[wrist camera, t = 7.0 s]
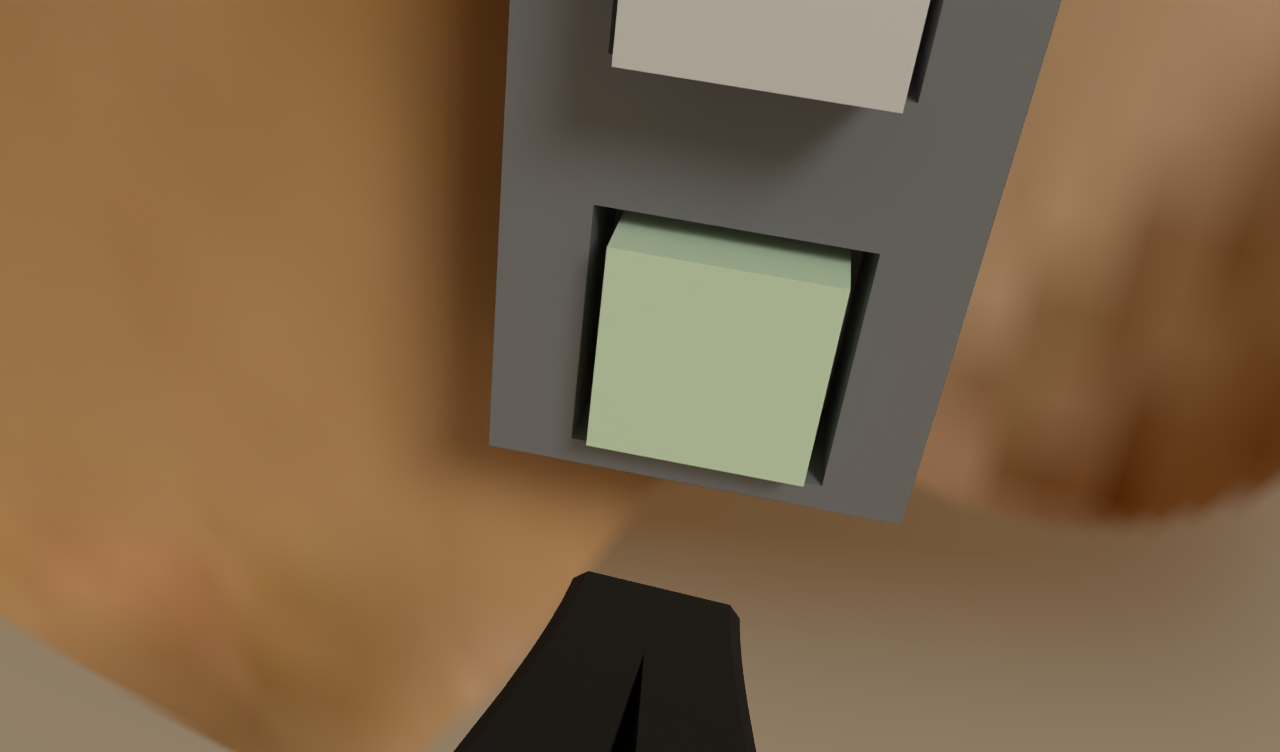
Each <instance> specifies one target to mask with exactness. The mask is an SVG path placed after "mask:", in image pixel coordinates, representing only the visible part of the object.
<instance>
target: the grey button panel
mask: <svg viewBox="0 0 1280 752" xmlns="http://www.w3.org/2000/svg"><path fill="white" fill-rule="evenodd" d="M1060 3H1061V0H930V4H929V8H928V12H927V16H926V20H925V24H924V28H923V32H922V36H921V40H920V45H919V49H918V53H917V57H916V61H915V65H914V69H913V73H912V77H911V81H910V86H909V90H908V94H907V98H906V102H905V106H904V110H903V114H902V113H896V112H890V111H884V110H877V109H871V108H865V107H859V106H853V105H846V104H840V103H834V102H828V101H822V100H815V99H809V98H803V97H797V96H791V95H784V94H778V93H772V92H766V91H759V90H753V89H747V88H741V87H735V86H728V85H722V84H716V83H710V82H704V81H697V80H691V79H685V78H679V77H673V76H666V75H660V74H654V73H648V72H642V71H635V70H629V69H623V68H617V67H612V57H613V47H614V36H615V26H616V16H617V6H618V0H510V5H509V26H508V48H507V69H506V90H505V111H504V132H503V153H502V175H501V196H500V217H499V238H498V259H497V280H496V302H495V323H494V344H493V365H492V386H491V407H490V429H489V445H490V446H495V447H500V448H505V449H511V450H516V451H521V452H526V453H531V454H536V455H542V456H547V457H552V458H557V459H562V460H568V461H573V462H578V463H583V464H588V465H594V466H599V467H604V468H609V469H614V470H620V471H625V472H630V473H635V474H640V475H646V476H651V477H656V478H661V479H666V480H672V481H677V482H682V483H687V484H692V485H697V486H703V487H708V488H713V489H718V490H724V491H729V492H734V493H739V494H745V495H750V496H755V497H760V498H765V499H770V500H775V501H781V502H786V503H791V504H796V505H802V506H807V507H812V508H817V509H822V510H828V511H833V512H838V513H843V514H848V515H854V516H859V517H864V518H869V519H874V520H879V521H885V522H890V523H895V524H900V525H901V524H902V520H903V517H904V514H905V511H906V507H907V504H908V501H909V498H910V494H911V491H912V488H913V484H914V481H915V478H916V475H917V471H918V468H919V465H920V462H921V458H922V455H923V452H924V448H925V445H926V442H927V439H928V435H929V432H930V429H931V426H932V422H933V419H934V416H935V412H936V409H937V406H938V403H939V399H940V396H941V393H942V390H943V386H944V383H945V380H946V376H947V373H948V370H949V367H950V363H951V360H952V357H953V354H954V350H955V347H956V344H957V340H958V337H959V334H960V331H961V327H962V324H963V321H964V318H965V314H966V311H967V308H968V304H969V301H970V298H971V295H972V291H973V288H974V285H975V282H976V278H977V275H978V272H979V268H980V265H981V262H982V259H983V255H984V252H985V249H986V246H987V242H988V239H989V236H990V232H991V229H992V226H993V223H994V219H995V216H996V213H997V210H998V206H999V203H1000V200H1001V196H1002V193H1003V190H1004V187H1005V183H1006V180H1007V177H1008V174H1009V170H1010V167H1011V164H1012V160H1013V157H1014V154H1015V151H1016V147H1017V144H1018V141H1019V138H1020V134H1021V131H1022V128H1023V124H1024V121H1025V118H1026V115H1027V111H1028V108H1029V105H1030V102H1031V98H1032V95H1033V92H1034V88H1035V85H1036V82H1037V79H1038V75H1039V72H1040V69H1041V66H1042V62H1043V59H1044V56H1045V52H1046V49H1047V46H1048V43H1049V39H1050V36H1051V33H1052V30H1053V26H1054V23H1055V20H1056V16H1057V13H1058V10H1059V7H1060ZM624 210H627V211H633V212H639V213H644V214H650V215H656V216H662V217H668V218H674V219H679V220H685V221H691V222H697V223H703V224H708V225H714V226H720V227H726V228H732V229H737V230H743V231H749V232H755V233H761V234H766V235H772V236H778V237H784V238H790V239H796V240H801V241H807V242H813V243H819V244H825V245H830V246H836V247H842V248H848V249H851V290H850V294H849V298H848V303H847V307H846V311H845V315H844V319H843V324H842V328H841V332H840V336H839V340H838V344H837V349H836V353H835V357H834V361H833V365H832V370H831V374H830V378H829V382H828V386H827V390H826V395H825V399H824V403H823V407H822V411H821V415H820V420H819V424H818V428H817V432H816V436H815V441H814V445H813V449H812V453H811V457H810V461H809V466H808V470H807V474H806V478H805V482H804V487H802V486H796V485H791V484H786V483H781V482H776V481H770V480H765V479H760V478H755V477H749V476H744V475H739V474H734V473H728V472H723V471H718V470H713V469H707V468H702V467H697V466H692V465H687V464H681V463H676V462H671V461H666V460H660V459H655V458H650V457H645V456H639V455H634V454H629V453H624V452H619V451H613V450H608V449H603V448H598V447H592V446H587V445H586V442H587V432H588V422H589V413H590V403H591V394H592V384H593V375H594V365H595V356H596V346H597V337H598V327H599V318H600V308H601V298H602V289H603V279H604V270H605V260H606V251H607V246H608V244H609V242H610V239H611V237H612V235H613V233H614V231H615V229H616V227H617V225H618V222H619V220H620V218H621V216H622V214H623V212H624Z"/></svg>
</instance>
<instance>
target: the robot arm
mask: <svg viewBox="0 0 1280 752" xmlns="http://www.w3.org/2000/svg"><path fill="white" fill-rule="evenodd" d="M741 658H742V657H741V646H740V619H739V617H738V616H737V614H736V613H735V611H734V610H733V609H732V607H731V606H730V605H728V604H723V603H719V602H714V601H710V600H707V599H702V598H698V597H694V596H690V595H686V594H682V593H677V592H673V591H669V590H664V589H661V588H656V587H652V586H648V585H644V584H640V583H636V582H632V581H627V580H623V579H619V578H615V577H611V576H606V575H602V574H598V573H594V572H590V571H588V572H586V573H583V574H581V575H579V576H577V577H575V578H573V580H572V582H571V584H570V586H569V588H568V590H567V592H566V594H565V596H564V598H563V600H562V602H561V603H560V605H559V607H558V608H557V610H556V612H555V613H554V615H553V617H552V618H551V620H550V622H549V623H548V625H547V627H546V628H545V630H544V631H543V633H542V634H541V636H540V637H539V639H538V640H537V642H536V643H535V645H534V646H533V648H532V649H531V651H530V652H529V654H528V655H527V656H526V658H525V659H524V661H523V662H522V663H521V665H520V666H519V668H518V669H517V670H516V672H515V673H514V675H513V676H512V677H511V679H510V680H509V682H508V683H507V684H506V686H505V687H504V688H503V690H502V691H501V692H500V694H499V695H498V696H497V697H496V699H495V700H494V701H493V702H492V704H491V705H490V706H489V707H488V709H487V710H486V711H485V713H484V714H483V715H482V716H481V718H480V719H479V720H478V721H477V723H476V724H475V725H474V726H473V728H472V729H471V730H470V732H469V733H468V734H467V735H466V737H465V738H464V739H463V740H462V742H461V743H460V744H459V745H458V747H457V748H456V749H455V750H454V752H756V748H755V744H754V738H753V732H752V726H751V721H750V715H749V710H748V704H747V697H746V690H745V683H744V676H743V667H742V659H741Z"/></svg>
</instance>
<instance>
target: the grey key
mask: <svg viewBox="0 0 1280 752" xmlns="http://www.w3.org/2000/svg"><path fill="white" fill-rule="evenodd" d="M929 4H930V0H618V6H617V16H616V26H615V36H614V47H613V57H612V67H617V68H623V69H629V70H635V71H642V72H648V73H654V74H660V75H666V76H673V77H679V78H685V79H691V80H697V81H704V82H710V83H716V84H722V85H728V86H735V87H741V88H747V89H753V90H759V91H766V92H772V93H778V94H784V95H791V96H797V97H803V98H809V99H815V100H822V101H828V102H834V103H840V104H846V105H853V106H859V107H865V108H871V109H877V110H884V111H890V112H896V113H902V114H903V110H904V106H905V102H906V98H907V94H908V90H909V86H910V81H911V77H912V73H913V69H914V65H915V61H916V57H917V53H918V49H919V45H920V40H921V36H922V32H923V28H924V24H925V20H926V16H927V12H928V8H929Z"/></svg>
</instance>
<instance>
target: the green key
mask: <svg viewBox="0 0 1280 752" xmlns="http://www.w3.org/2000/svg"><path fill="white" fill-rule="evenodd" d="M850 290H851V249H848V248H842V247H836V246H830V245H825V244H819V243H813V242H807V241H801V240H796V239H790V238H784V237H778V236H772V235H766V234H761V233H755V232H749V231H743V230H737V229H732V228H726V227H720V226H714V225H708V224H703V223H697V222H691V221H685V220H679V219H674V218H668V217H662V216H656V215H650V214H644V213H639V212H633V211H627V210H624V212H623V214H622V216H621V218H620V220H619V222H618V225H617V227H616V229H615V231H614V233H613V235H612V237H611V239H610V242H609V244H608V246H607V251H606V260H605V270H604V279H603V289H602V298H601V308H600V318H599V327H598V337H597V346H596V356H595V365H594V375H593V384H592V394H591V403H590V413H589V422H588V432H587V442H586V445H587V446H592V447H598V448H603V449H608V450H613V451H619V452H624V453H629V454H634V455H639V456H645V457H650V458H655V459H660V460H666V461H671V462H676V463H681V464H687V465H692V466H697V467H702V468H707V469H713V470H718V471H723V472H728V473H734V474H739V475H744V476H749V477H755V478H760V479H765V480H770V481H776V482H781V483H786V484H791V485H796V486H802V487H804V482H805V478H806V474H807V470H808V466H809V461H810V457H811V453H812V449H813V445H814V441H815V436H816V432H817V428H818V424H819V420H820V415H821V411H822V407H823V403H824V399H825V395H826V390H827V386H828V382H829V378H830V374H831V370H832V365H833V361H834V357H835V353H836V349H837V344H838V340H839V336H840V332H841V328H842V324H843V319H844V315H845V311H846V307H847V303H848V298H849V294H850Z"/></svg>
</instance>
